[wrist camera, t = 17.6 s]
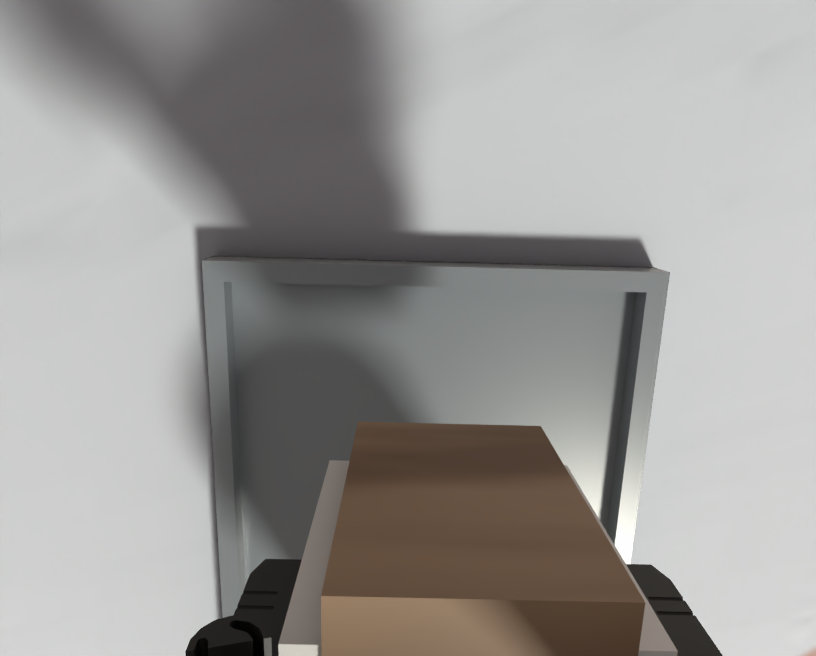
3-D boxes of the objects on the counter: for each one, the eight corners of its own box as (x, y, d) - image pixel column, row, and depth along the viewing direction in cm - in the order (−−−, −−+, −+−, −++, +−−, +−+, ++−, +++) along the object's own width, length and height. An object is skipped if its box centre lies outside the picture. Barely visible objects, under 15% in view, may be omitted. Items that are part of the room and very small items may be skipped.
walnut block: (358, 421, 16) (321, 595, 9) (540, 426, 16) (645, 602, 9) (356, 582, 17) (322, 847, 10) (527, 585, 17) (611, 852, 10)
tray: (237, 698, 29) (228, 725, 27) (214, 256, 23) (201, 260, 22) (597, 703, 29) (607, 731, 27) (653, 267, 24) (669, 272, 22)
